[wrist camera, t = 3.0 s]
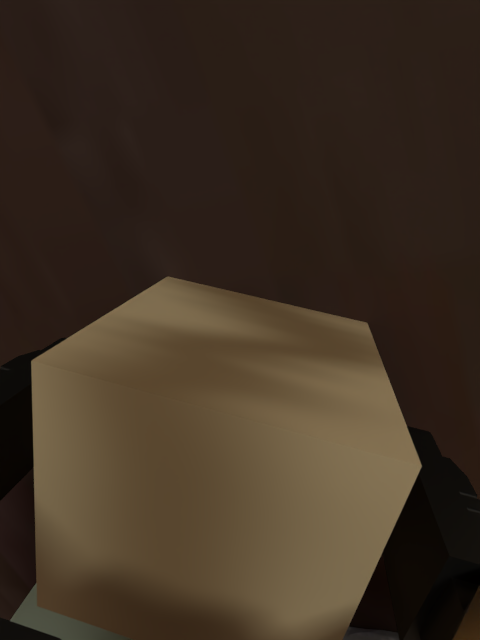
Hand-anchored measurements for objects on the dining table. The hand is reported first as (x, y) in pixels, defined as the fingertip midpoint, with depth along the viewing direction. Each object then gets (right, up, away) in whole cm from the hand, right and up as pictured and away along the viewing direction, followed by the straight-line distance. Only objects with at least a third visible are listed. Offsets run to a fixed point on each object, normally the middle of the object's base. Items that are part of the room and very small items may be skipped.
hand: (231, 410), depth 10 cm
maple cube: (0, 0, +1) cm, 1 cm away
